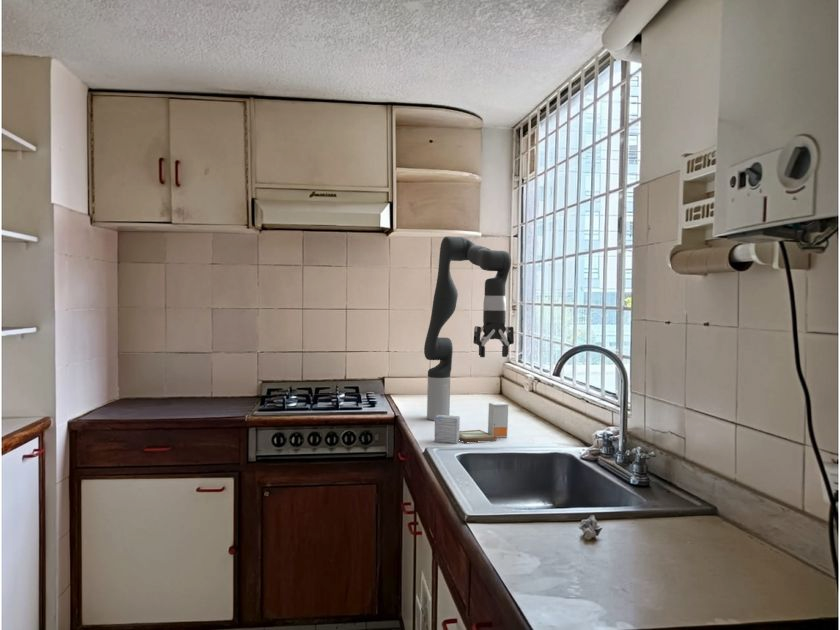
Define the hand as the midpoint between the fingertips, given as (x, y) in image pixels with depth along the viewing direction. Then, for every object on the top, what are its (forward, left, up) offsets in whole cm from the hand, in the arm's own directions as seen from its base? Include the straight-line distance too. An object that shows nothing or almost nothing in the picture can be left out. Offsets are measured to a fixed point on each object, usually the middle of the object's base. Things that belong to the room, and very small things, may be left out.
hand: (493, 357), depth 209 cm
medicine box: (-6, -14, -30) cm, 33 cm away
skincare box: (-8, +7, -30) cm, 31 cm away
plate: (-8, -3, -29) cm, 31 cm away
